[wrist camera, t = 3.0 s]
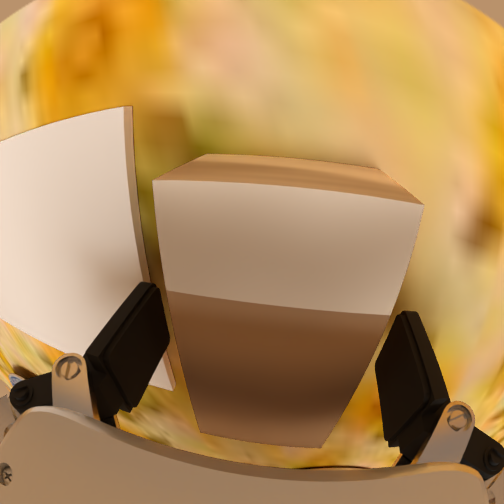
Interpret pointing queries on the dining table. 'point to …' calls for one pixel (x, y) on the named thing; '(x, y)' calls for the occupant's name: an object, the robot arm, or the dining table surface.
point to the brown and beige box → (279, 287)
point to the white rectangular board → (71, 230)
